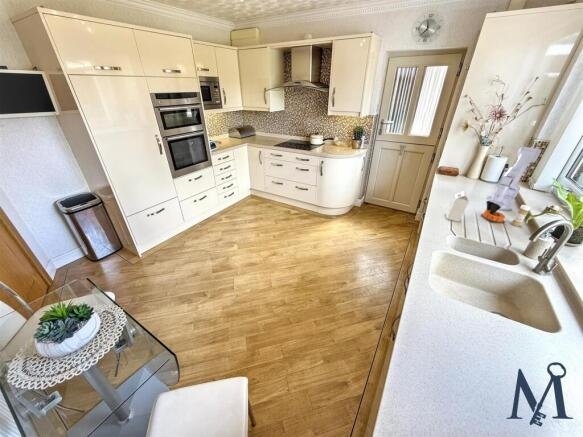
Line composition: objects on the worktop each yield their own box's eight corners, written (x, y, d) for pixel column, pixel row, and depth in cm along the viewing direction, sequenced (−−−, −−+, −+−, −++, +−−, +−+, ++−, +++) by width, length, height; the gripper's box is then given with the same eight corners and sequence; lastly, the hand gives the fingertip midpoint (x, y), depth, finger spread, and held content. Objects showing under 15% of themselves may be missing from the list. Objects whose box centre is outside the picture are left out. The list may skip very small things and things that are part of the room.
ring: (494, 213, 160) (496, 210, 158) (507, 222, 150) (509, 218, 149) (479, 213, 160) (481, 209, 158) (490, 221, 150) (492, 217, 149)
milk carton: (457, 217, 156) (470, 191, 146) (459, 222, 150) (472, 195, 141) (445, 214, 158) (457, 188, 149) (446, 219, 153) (458, 192, 143)
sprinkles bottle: (520, 225, 150) (532, 206, 143) (518, 227, 147) (530, 208, 141) (512, 222, 153) (523, 203, 146) (509, 224, 151) (520, 205, 144)
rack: (494, 216, 159) (497, 210, 157) (503, 222, 152) (507, 217, 149) (480, 215, 159) (483, 210, 157) (490, 222, 152) (493, 216, 150)
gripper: (485, 189, 157) (476, 207, 164) (501, 198, 145) (491, 217, 152) (496, 190, 157) (486, 208, 164) (512, 199, 145) (502, 218, 152)
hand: (489, 212), depth 158 cm, fingers closed on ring, 3 cm apart
